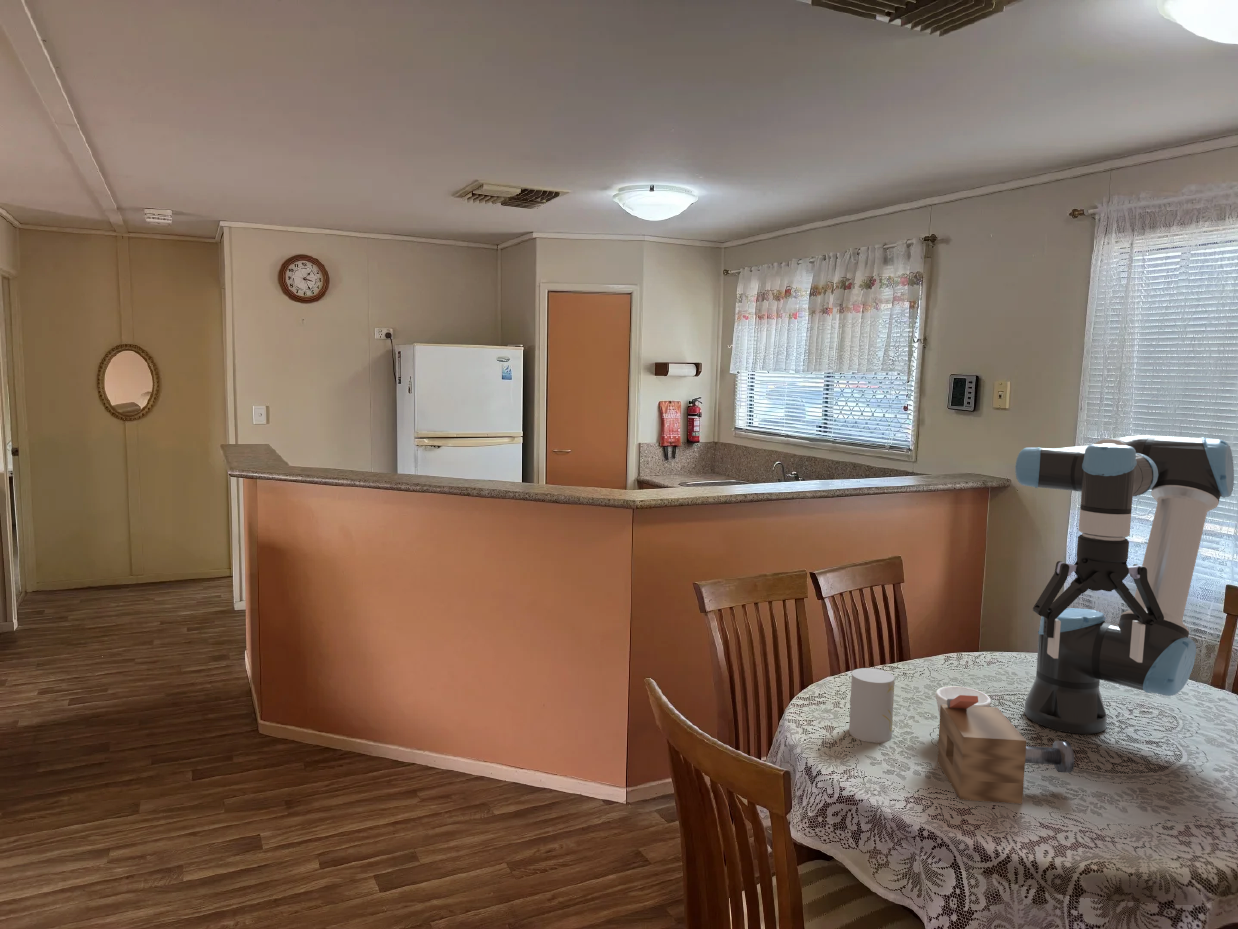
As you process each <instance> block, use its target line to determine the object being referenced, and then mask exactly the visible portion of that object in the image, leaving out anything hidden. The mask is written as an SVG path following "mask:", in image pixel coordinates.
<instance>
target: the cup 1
mask: <svg viewBox="0 0 1238 929" xmlns="http://www.w3.org/2000/svg"><path fill="white" fill-rule="evenodd" d="M895 680H896V677H895V675H894V674H892V673H891V672H889V671H886V670H882V669H879V668H870V667H869V668H868V667H862V668H856V669H853V671H852V672H851V682H850V684H851V686H850V702H849V703H850V704H849V705H850V706H849V725H848V726H849V727H848V728H849V730H848V733H849V734H850V735H851V736H852V737H853V738H855V739H857V740H860V741H863V742H867V743H874V744H875V743H886V742H888V741H889V742H890V741H891V739H892V738H893V720H894V719H893V718H894V703H895V702H894V701H895V700H894V699H895V682H896V681H895Z"/></svg>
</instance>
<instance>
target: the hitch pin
mask: <svg viewBox="0 0 1238 929" xmlns="http://www.w3.org/2000/svg"><path fill="white" fill-rule="evenodd" d="M1025 764H1036V765H1037V764H1039V765H1049V766H1050V765H1052V766H1054V769H1055V770H1056V772H1058V773H1062V774H1065V773H1066V774H1071V773H1072V772H1073V770H1074V768H1075V755H1074V749H1073V747H1072V744H1070V742H1068V741H1066V740H1054V741H1053V743H1052V747H1048V746H1047V747H1046V746H1045V747H1043V746H1031V745H1030V746H1028V745H1026V755H1025Z"/></svg>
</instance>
